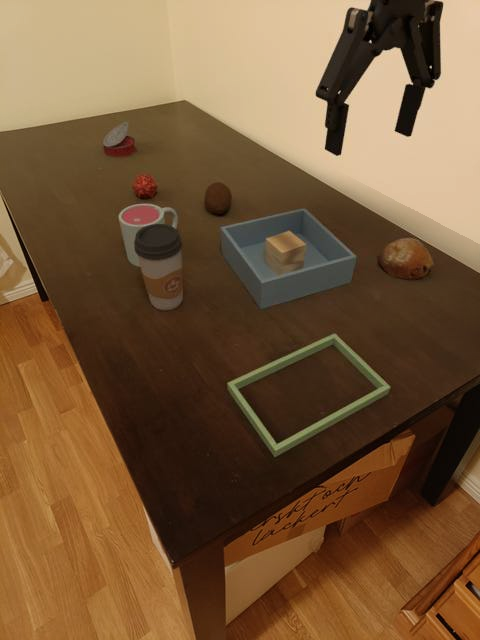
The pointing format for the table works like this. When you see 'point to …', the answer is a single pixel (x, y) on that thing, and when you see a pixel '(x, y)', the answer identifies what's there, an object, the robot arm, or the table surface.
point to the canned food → (119, 142)
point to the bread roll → (406, 259)
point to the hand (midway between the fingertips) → (369, 142)
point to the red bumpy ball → (144, 186)
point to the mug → (141, 224)
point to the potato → (218, 198)
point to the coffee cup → (161, 264)
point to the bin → (271, 289)
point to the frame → (322, 424)
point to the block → (285, 253)
